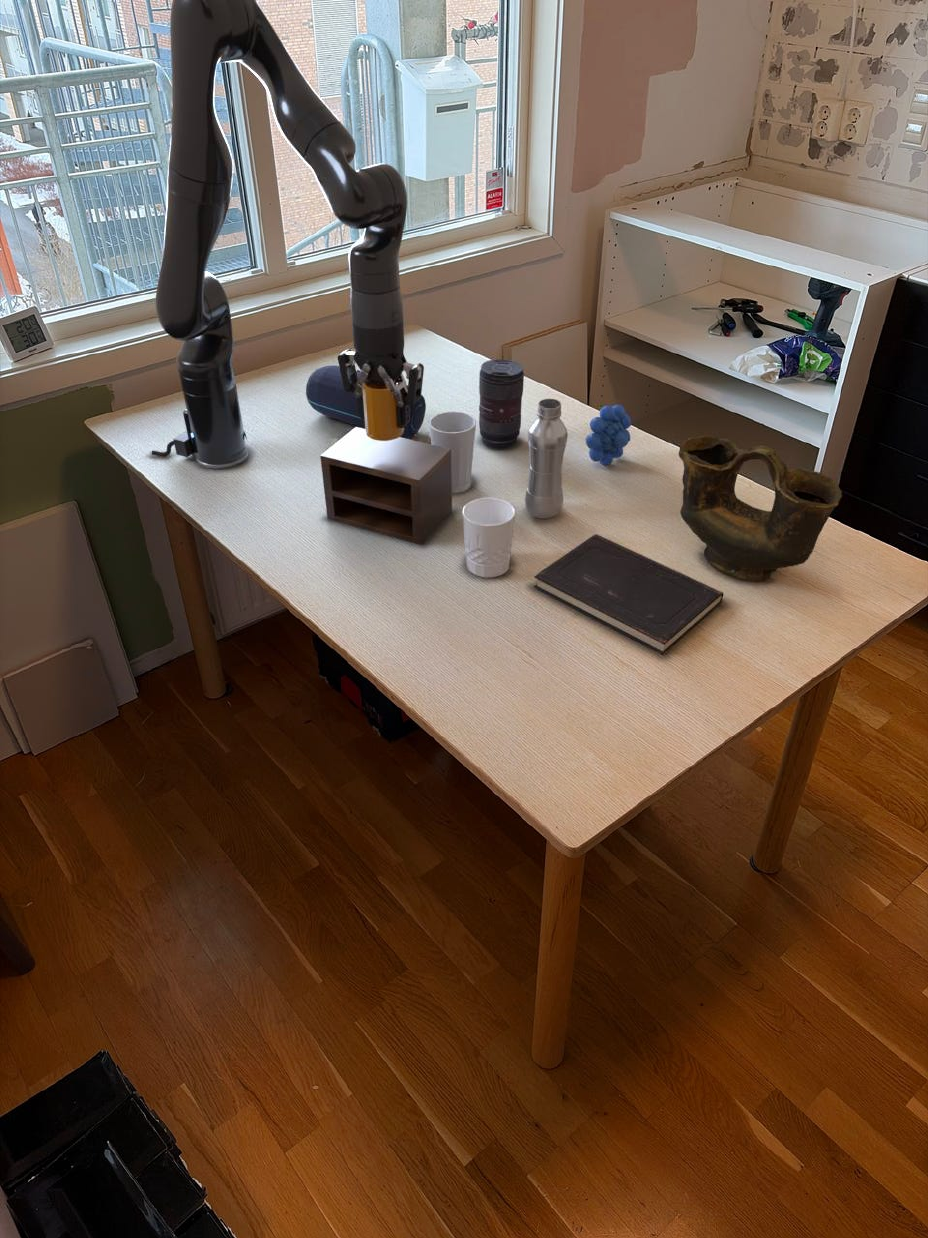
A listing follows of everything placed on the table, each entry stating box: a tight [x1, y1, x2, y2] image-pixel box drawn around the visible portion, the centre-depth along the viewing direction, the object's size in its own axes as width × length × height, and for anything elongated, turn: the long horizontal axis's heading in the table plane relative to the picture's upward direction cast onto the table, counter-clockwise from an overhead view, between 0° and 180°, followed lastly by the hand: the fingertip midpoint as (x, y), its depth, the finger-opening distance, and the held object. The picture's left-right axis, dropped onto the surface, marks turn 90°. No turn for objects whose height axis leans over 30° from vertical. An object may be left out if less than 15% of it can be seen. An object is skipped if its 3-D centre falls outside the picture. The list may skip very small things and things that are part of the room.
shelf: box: [319, 426, 453, 546], centre depth 152 cm, size 18×11×12 cm, turn 64°
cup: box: [428, 411, 477, 494], centre depth 160 cm, size 8×8×12 cm
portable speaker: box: [305, 364, 427, 439], centre depth 178 cm, size 25×10×10 cm, turn 58°
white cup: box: [462, 497, 516, 578], centre depth 141 cm, size 8×8×10 cm
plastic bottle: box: [524, 398, 569, 519], centre depth 150 cm, size 6×7×20 cm
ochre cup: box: [362, 381, 403, 441], centre depth 143 cm, size 6×6×8 cm
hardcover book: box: [533, 533, 725, 656], centre depth 138 cm, size 16×23×2 cm
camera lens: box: [478, 358, 525, 450], centre depth 171 cm, size 8×8×15 cm
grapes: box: [585, 403, 632, 466], centre depth 165 cm, size 12×7×12 cm, turn 133°
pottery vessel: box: [678, 434, 843, 582], centre depth 139 cm, size 25×11×20 cm, turn 49°
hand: (384, 421), depth 145 cm, fingers closed on ochre cup, 6 cm apart
